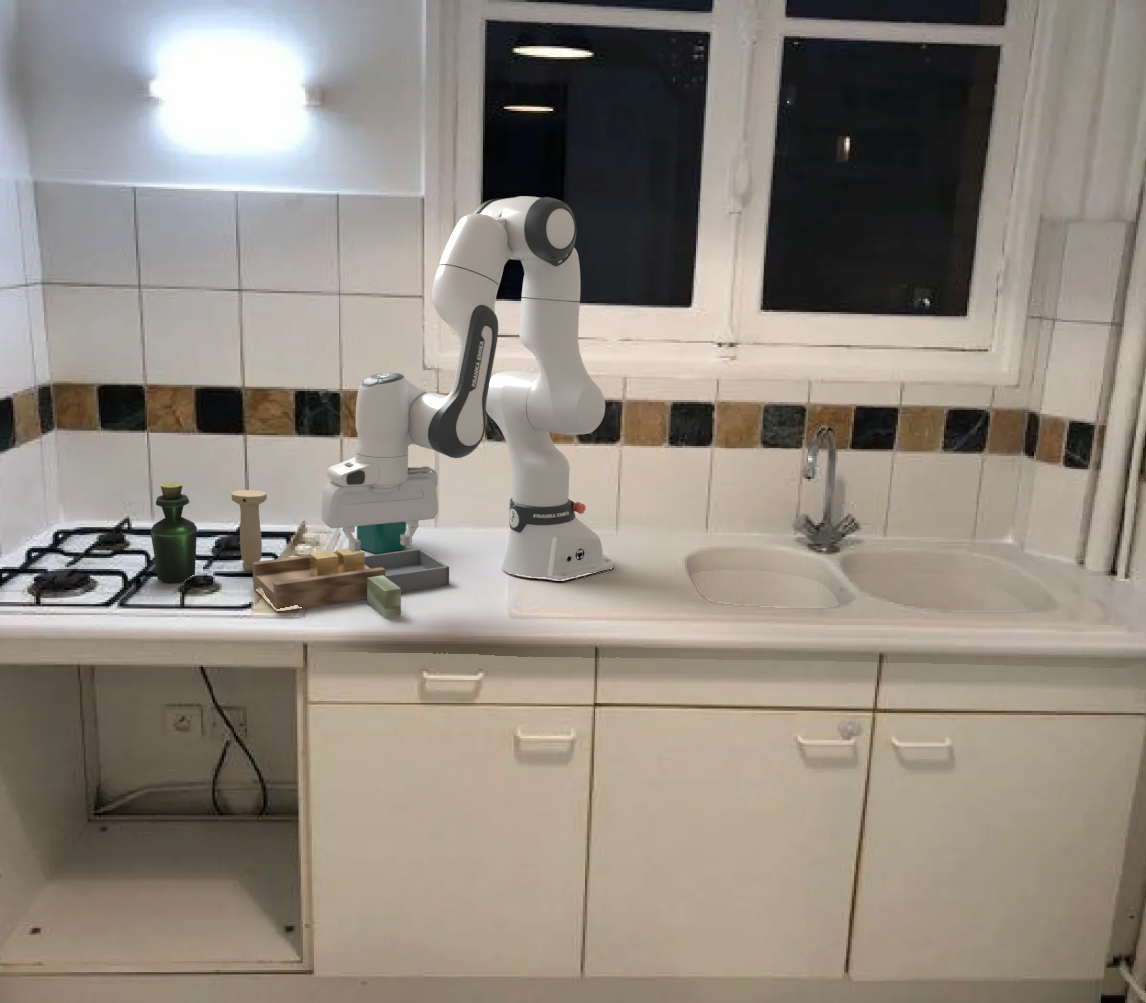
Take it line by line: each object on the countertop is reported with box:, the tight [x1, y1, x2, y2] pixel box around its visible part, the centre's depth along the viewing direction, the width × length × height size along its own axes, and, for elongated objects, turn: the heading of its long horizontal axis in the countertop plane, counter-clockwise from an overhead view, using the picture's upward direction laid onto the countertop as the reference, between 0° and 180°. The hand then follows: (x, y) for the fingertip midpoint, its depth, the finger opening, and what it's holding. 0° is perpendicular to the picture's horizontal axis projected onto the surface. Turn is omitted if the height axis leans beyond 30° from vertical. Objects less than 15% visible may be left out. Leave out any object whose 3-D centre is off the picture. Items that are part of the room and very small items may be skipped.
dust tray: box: [365, 548, 450, 593], centre depth 207 cm, size 13×13×4 cm
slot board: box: [252, 551, 385, 609], centre depth 198 cm, size 20×14×5 cm
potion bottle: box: [150, 481, 198, 585], centre depth 201 cm, size 8×8×18 cm
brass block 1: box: [309, 549, 339, 577], centre depth 198 cm, size 4×4×4 cm
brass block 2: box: [335, 547, 366, 573], centre depth 201 cm, size 4×4×4 cm
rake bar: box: [366, 575, 402, 619], centre depth 191 cm, size 3×8×5 cm, turn 32°
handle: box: [230, 489, 268, 572], centre depth 208 cm, size 5×6×15 cm
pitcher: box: [356, 522, 408, 555], centre depth 224 cm, size 10×8×22 cm
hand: (380, 547), depth 188 cm, fingers open, 8 cm apart
